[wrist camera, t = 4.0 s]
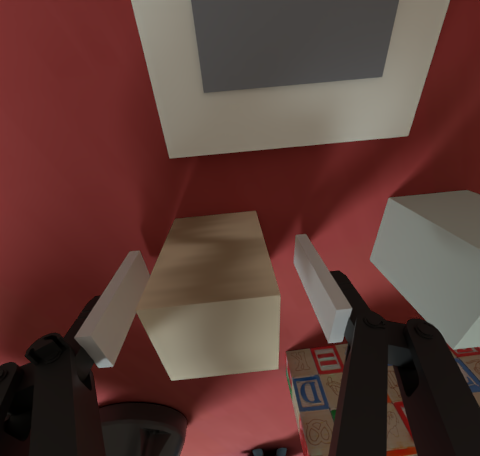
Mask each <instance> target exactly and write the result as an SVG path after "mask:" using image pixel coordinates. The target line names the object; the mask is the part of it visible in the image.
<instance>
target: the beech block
mask: <svg viewBox="0 0 480 456" xmlns="http://www.w3.org/2000/svg"><path fill="white" fill-rule="evenodd" d="M135 311H136V313H137V315H138V317H139V319H140V320H141V322H142V324H143V326H144V328H145V330H146V332H147V334H148V336H149V338H150V340H151V342H152V344H153V346H154V348H155V350H156V352H157V354H158V356H159V358H160V360H161V362H162V364H163V365H164V367H165V369H166V371H167V373H168V375H169V377H170V379H171V381H174V380H183V379H192V378H202V377H211V376H220V375H229V374H238V373H247V372H256V371H265V370H274V369H278V363H279V329H280V292H279V288H278V285H277V281H276V278H275V275H274V271H273V268H272V264H271V261H270V257H269V254H268V251H267V247H266V244H265V240H264V237H263V233H262V230H261V227H260V223H259V220H258V216H257V213H256V211H248V212H238V213H228V214H218V215H208V216H198V217H188V218H177V219H175V220H174V222H173V224H172V227H171V229H170V231H169V234H168V236H167V238H166V240H165V243H164V245H163V247H162V250H161V252H160V254H159V257H158V259H157V261H156V264H155V266H154V268H153V271H152V273H151V275H150V277H149V280H148V282H147V284H146V287H145V289H144V291H143V294H142V296H141V298H140V301H139V303H138V305H137V308H136V310H135Z"/></svg>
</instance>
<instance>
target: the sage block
mask: <svg viewBox="0 0 480 456" xmlns="http://www.w3.org/2000/svg"><path fill="white" fill-rule="evenodd" d="M370 261H371V262H372V263H373V264H374V265H375V266H376V267H377V269H378V270H379V271H380V272H381V273H382V274H383V275H384V276H385V277H386V278H387V279H388V280H389V281H390V282H391V284H392V285H393V286H394V287H395V288H396V289H397V290H398V291H399V292H400V293H401V294H402V295H403V296H404V298H405V299H406V300H407V301H408V302H409V303H410V304H411V305H412V306H413V307H414V308H415V309H416V310H417V312H418V313H419V314H420V315H421V316H422V317H423V318H424V319H425V320H426V321H427V322H428V323H430V324H432V325H433V326H435V327H436V328H437V329H438V330H439V331H440V333H441V334H442V335H443V337H444V339H445V341H446V343H447V344H448V345H449V346H450V347H451V348H452V349H453V350H454V349H463V348H472V347H480V194H477V193H474V192H472V191H469V190H461V191H451V192H441V193H431V194H421V195H411V196H400V197H390V198H388V202H387V205H386V208H385V212H384V215H383V218H382V221H381V225H380V228H379V231H378V234H377V238H376V241H375V244H374V247H373V251H372V254H371V257H370Z"/></svg>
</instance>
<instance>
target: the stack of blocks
mask: <svg viewBox="0 0 480 456" xmlns="http://www.w3.org/2000/svg"><path fill="white" fill-rule="evenodd" d="M347 345H348V344H342V345H332V346H324V347H317V348H310V349H301V350H294V351H287V352H285V353H286V373H287V374H286V376H287V381H288V385H289V390H290V394H291V398H292V403H293V407H294V412H295V417H296V422H297V426H298V431H299V435H300V441H301V446H302V450H303V454H304V456H328V455H329V449H330V443H331V437H332V431H333V426H334V420H335V414H336V408H337V403H338V397H339V391H340V385H341V379H342V374H343V368H344V362H345V356H346V355H345V352H346V349H347ZM447 345H448V344H447ZM448 347H449V349H450V351H451V353H452V355H453V357H454V359H455V360H456V362H457V364H458V366H459V368H460V370H461V372H462V374H463V376H464V378H465V380H466V382H467V384H468V386H469V387H470V389H471V391H472V393H473V395H474V397H475V399H476V401H477V403H478V405H479V407H480V348H478V347H472V348H463V349H454V350H453V349H452V348H451V347H450V346H449V345H448ZM387 456H418V455H417V451H416V448H415V444H414V441H413V437H412V433H411V430H410V426H409V423H408V419H407V415H406V412H405V408H404V405H403V401H402V397H401V394H400V390H399V387H398V383H397V379H396V376H395V372H394V369H393V365H390V364H388V392H387Z"/></svg>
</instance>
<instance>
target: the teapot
mask: <svg viewBox="0 0 480 456" xmlns="http://www.w3.org/2000/svg"><path fill="white" fill-rule="evenodd" d="M286 451H287V448H279V449H277V456H286ZM252 452H253V454H254V456H264V455H263V450H262V449H254V450H253V451H252Z"/></svg>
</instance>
